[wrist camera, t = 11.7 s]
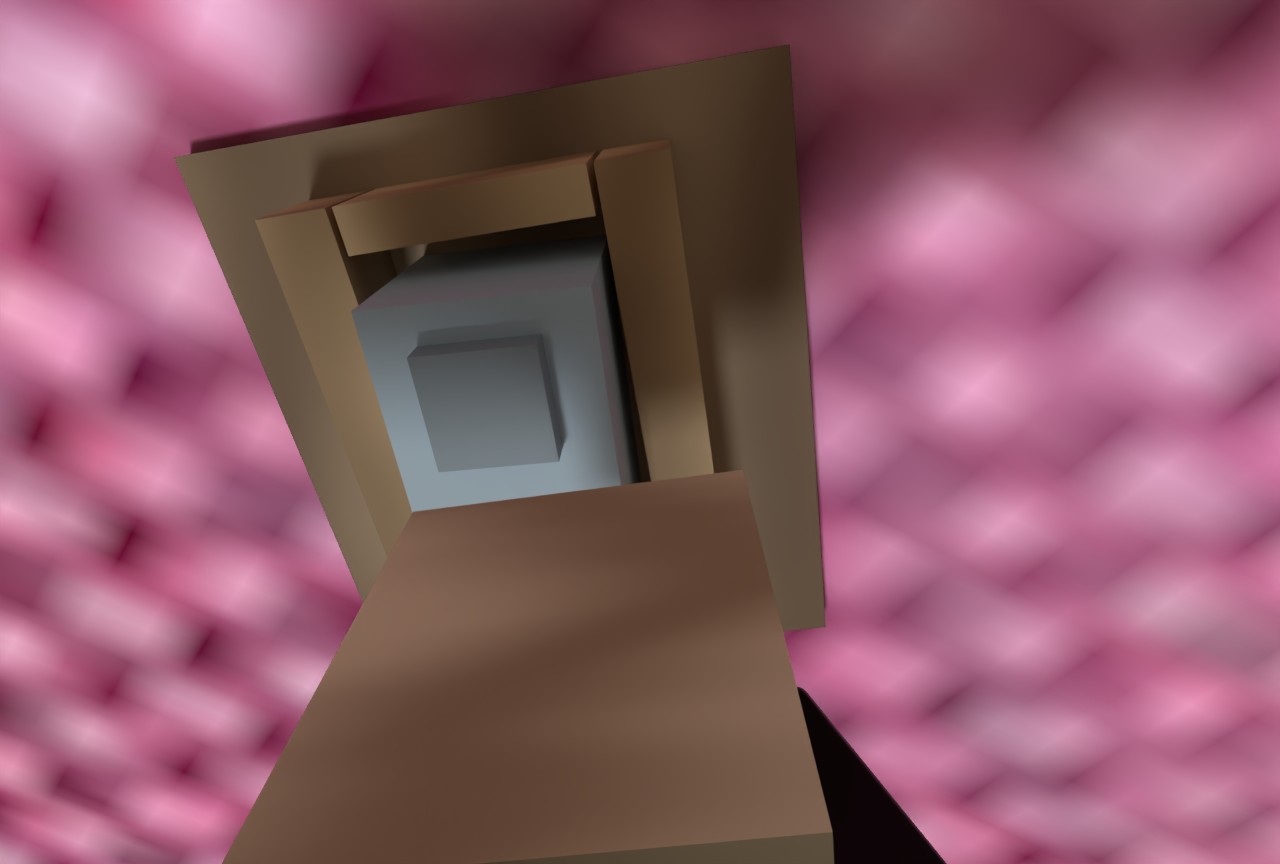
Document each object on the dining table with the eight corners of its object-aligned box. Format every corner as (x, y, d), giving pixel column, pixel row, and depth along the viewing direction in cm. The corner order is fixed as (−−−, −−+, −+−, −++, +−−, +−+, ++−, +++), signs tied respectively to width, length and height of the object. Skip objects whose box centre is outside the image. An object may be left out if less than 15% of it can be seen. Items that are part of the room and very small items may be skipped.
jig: (784, 45, 16) (811, 39, 13) (821, 613, 23) (844, 689, 20) (189, 154, 17) (97, 170, 14) (398, 658, 24) (364, 735, 21)
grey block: (608, 234, 17) (588, 294, 12) (653, 573, 21) (651, 710, 17) (423, 255, 17) (337, 321, 13) (505, 585, 22) (463, 721, 17)
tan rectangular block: (743, 470, 8) (831, 831, 4) (775, 786, 11) (851, 1209, 7) (413, 511, 9) (208, 886, 5) (515, 810, 11) (439, 1230, 7)
